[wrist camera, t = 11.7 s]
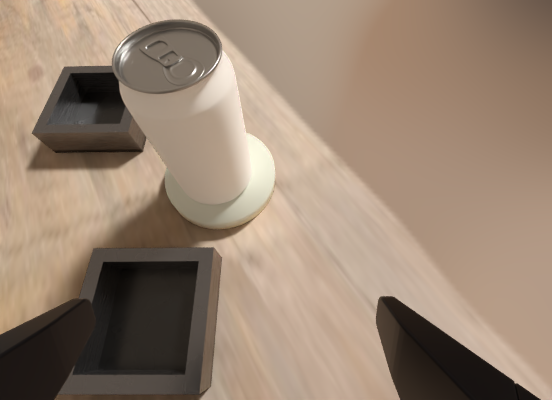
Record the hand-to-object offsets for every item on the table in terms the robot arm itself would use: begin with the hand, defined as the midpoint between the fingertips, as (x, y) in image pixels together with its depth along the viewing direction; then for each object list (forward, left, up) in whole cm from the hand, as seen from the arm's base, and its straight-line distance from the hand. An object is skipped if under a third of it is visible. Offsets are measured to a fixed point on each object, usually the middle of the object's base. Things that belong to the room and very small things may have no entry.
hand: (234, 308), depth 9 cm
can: (+12, +4, -12) cm, 18 cm away
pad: (+13, +4, -14) cm, 19 cm away
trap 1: (+21, +17, -14) cm, 30 cm away
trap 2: (+1, +8, -14) cm, 16 cm away
